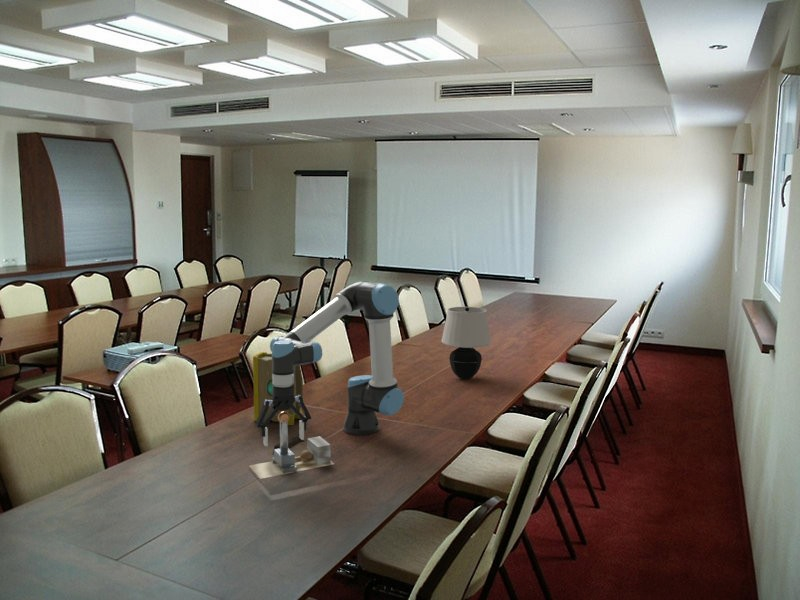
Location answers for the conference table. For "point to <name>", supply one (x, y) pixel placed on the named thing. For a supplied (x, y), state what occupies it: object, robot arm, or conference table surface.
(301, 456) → the brown ball
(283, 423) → the ball-top joystick
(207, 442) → the conference table surface
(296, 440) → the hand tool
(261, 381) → the decorative book
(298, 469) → the knob lever base plate
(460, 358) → the table lamp
